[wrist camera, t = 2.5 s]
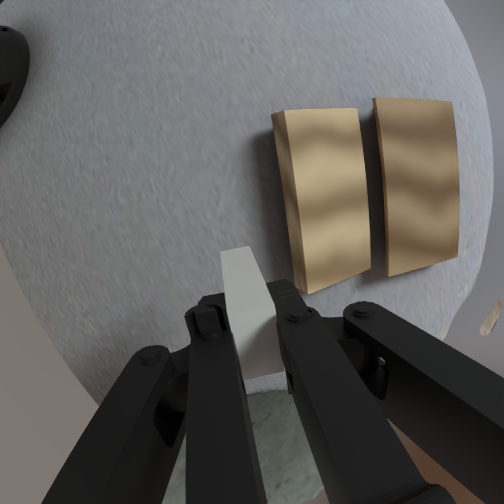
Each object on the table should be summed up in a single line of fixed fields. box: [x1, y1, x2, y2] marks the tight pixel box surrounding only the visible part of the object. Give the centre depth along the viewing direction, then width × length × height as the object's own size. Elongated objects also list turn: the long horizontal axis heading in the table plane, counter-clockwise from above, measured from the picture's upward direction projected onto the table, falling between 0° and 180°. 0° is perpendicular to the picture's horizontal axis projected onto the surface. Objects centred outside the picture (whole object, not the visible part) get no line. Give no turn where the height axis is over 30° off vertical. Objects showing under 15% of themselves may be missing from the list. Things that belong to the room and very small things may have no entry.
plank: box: [271, 108, 371, 295], centre depth 31 cm, size 18×9×5 cm, turn 9°
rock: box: [162, 390, 324, 504], centre depth 31 cm, size 27×6×20 cm, turn 111°
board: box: [372, 98, 460, 277], centre depth 32 cm, size 20×12×4 cm, turn 9°
